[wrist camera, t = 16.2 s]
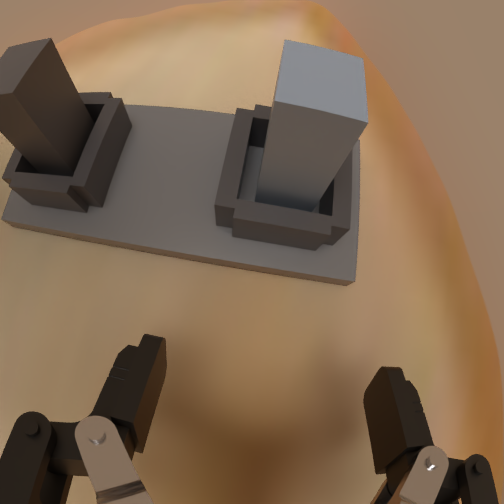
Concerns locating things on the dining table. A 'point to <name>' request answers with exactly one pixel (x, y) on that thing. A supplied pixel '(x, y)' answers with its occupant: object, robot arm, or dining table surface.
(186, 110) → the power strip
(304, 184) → the plug
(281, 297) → the dining table surface
